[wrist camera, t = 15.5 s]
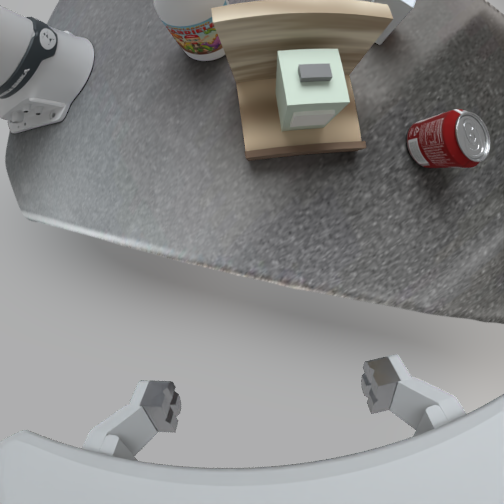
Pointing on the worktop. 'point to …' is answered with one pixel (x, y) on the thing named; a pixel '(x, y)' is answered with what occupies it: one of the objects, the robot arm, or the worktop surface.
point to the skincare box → (395, 15)
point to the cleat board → (293, 38)
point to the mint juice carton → (309, 88)
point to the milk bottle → (192, 26)
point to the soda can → (449, 140)
